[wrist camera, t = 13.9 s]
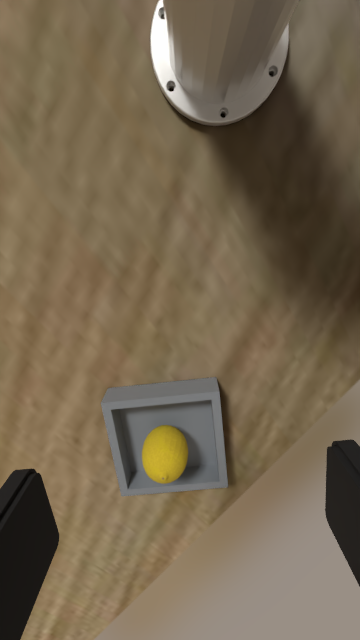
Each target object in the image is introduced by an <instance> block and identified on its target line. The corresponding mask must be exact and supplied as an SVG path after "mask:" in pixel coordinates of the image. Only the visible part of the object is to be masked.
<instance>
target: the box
mask: <svg viewBox="0 0 360 640" xmlns="http://www.w3.org/2000/svg"><path fill="white" fill-rule="evenodd" d="M101 406H102V410H103V415H104V419H105V424H106V428H107V433H108V437H109V442H110V447H111V451H112V456H113V460H114V465H115V469H116V474H117V478H118V483H119V487H120V492H121V496H131V495H142V494H154V493H166V492H177V491H189V490H201V489H212V488H224V487H228V480H227V469H226V458H225V447H224V436H223V425H222V414H221V403H220V392H219V387H218V383H217V379H216V377H213V378H203V379H193V380H183V381H173V382H164V383H154V384H144V385H134V386H124V387H115V388H108V390H107V392H106V394H105V396H104V398H103V400H102V402H101ZM161 425H171V426H173V427H176V428H177V429H179V430H180V431H181V432H182V433H183V435H184V437H185V439H186V441H187V446H188V459H187V464H186V467H185V469H184V471H183V473H182V474H181V476H180V477H179V478H178V479H176V480H175V481H173V482H171V483H166V484H161V483H157V482H155V481H153V480H152V479H151V478H149V476H148V475H147V474H146V472H145V469H144V467H143V462H142V449H143V444H144V441H145V439H146V437H147V436H148V434H149V433H150V432H151V431H152V430H153V429H154V428H156V427H158V426H161Z"/></svg>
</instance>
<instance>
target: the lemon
mask: <svg viewBox="0 0 360 640" xmlns="http://www.w3.org/2000/svg"><path fill="white" fill-rule="evenodd" d="M187 459H188V446H187V441H186V439H185V437H184V435H183V433H182V432H181V431H180V430H179V429H177V428H176V427H173V426H171V425H161V426H158V427H156V428H154V429H153V430H152V431H151V432H150V433H149V434H148V436H147V437H146V439H145V441H144V444H143V449H142V462H143V467H144V469H145V472H146V474H147V475H148V476H149V478H151V479H152V480H153V481H155V482H157V483H161V484H166V483H171V482H173V481H175V480H176V479H178V478H179V477H180V476H181V474H182V473H183V471H184V469H185V467H186V464H187Z"/></svg>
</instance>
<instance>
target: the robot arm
mask: <svg viewBox="0 0 360 640" xmlns="http://www.w3.org/2000/svg"><path fill="white" fill-rule="evenodd" d="M298 2H299V0H159V1H158V3H157V5H156V8H155V12H154V15H153V19H152V24H151V33H150V50H151V59H152V65H153V69H154V72H155V76H156V79H157V82H158V84H159V86H160V88H161V90H162V92H163V94H164V96H165V97H166V98H167V100H168V101H169V103H170V104H171V105H172V106H173V107H174V108H175V109H176V110H177V111H178V112H179V113H180V114H182V115H183V116H185V117H187V118H188V119H190V120H192V121H194V122H197V123H200V124H203V125H211V126H220V125H228V124H231V123H234V122H238V121H240V120H242V119H243V118H245V117H247V116H249V115H250V114H251V113H253V112H254V111H255V110H256V109H258V108H259V107H260V106H261V105H262V103H263V102H264V101H265V100H266V99H267V98H268V96H269V95H270V93H271V92H272V90H273V89H274V87H275V85H276V83H277V82H278V80H279V78H280V76H281V73H282V70H283V67H284V64H285V61H286V57H287V51H288V44H289V24H288V22H289V20H290V18H291V16H292V14H293V12H294V10H295V8H296V6H297V4H298ZM163 17H164V18H165V19H162V18H163ZM270 73H271V74H272V75H273V77H271V76H270V75H269V74H270ZM170 88H173V89H174V91H172V92H170V91H169V89H170ZM222 113H223V114H225V118H222V117H221V116H220V115H221V114H222ZM325 511H326V518H327V521H328V523H329V526H330V528H331V530H332V532H333V534H334V536H335V538H336V540H337V542H338V544H339V546H340V548H341V550H342V552H343V554H344V556H345V558H346V560H347V561H348V564H349V566H350V568H351V570H352V572H353V574H354V576H355V578H356V580H357V582H358V584H359V586H360V447H359V445H358V444H357V443H356V442H355V441H354V440H343V441H334V442H333V443H332V447H328V448H327V471H326V509H325ZM58 542H59V532H58V529H57V525H56V522H55V519H54V516H53V513H52V509H51V506H50V503H49V500H48V497H47V493H46V490H45V487H44V484H43V481H42V477H41V475H40V474H39V473H36V471H35V470H34V469H23V470H15V471H13V473H12V474H11V475H10V476H9V478H8V479H7V480H6V482H5V483H4V485H3V486H2V487H1V489H0V640H20V639H21V636H22V634H23V631H24V629H25V626H26V624H27V621H28V619H29V616H30V614H31V611H32V609H33V606H34V604H35V601H36V599H37V596H38V594H39V591H40V589H41V586H42V584H43V581H44V579H45V576H46V574H47V571H48V569H49V566H50V564H51V561H52V559H53V556H54V554H55V551H56V549H57V546H58Z"/></svg>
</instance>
